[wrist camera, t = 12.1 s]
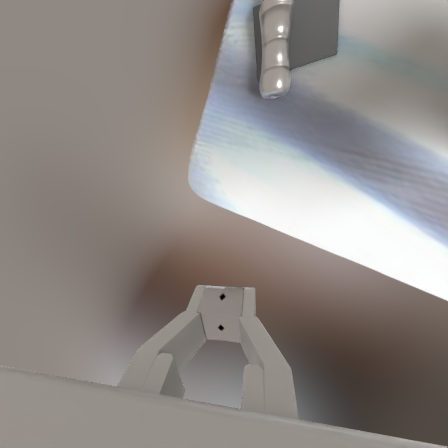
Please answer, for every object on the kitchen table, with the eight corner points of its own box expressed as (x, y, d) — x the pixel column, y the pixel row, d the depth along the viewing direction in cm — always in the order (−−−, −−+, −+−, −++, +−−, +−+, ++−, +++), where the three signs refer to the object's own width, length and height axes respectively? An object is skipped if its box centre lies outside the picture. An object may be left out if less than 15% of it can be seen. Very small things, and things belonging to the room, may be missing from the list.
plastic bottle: (280, 91, 35) (286, -61, 28) (253, 100, 40) (252, -28, 33) (295, 96, 39) (303, -35, 32) (268, 104, 44) (270, -9, 37)
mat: (340, -33, 32) (341, -38, 31) (336, 54, 36) (337, 52, 35) (254, 10, 39) (253, 7, 38) (258, 80, 42) (257, 79, 42)
